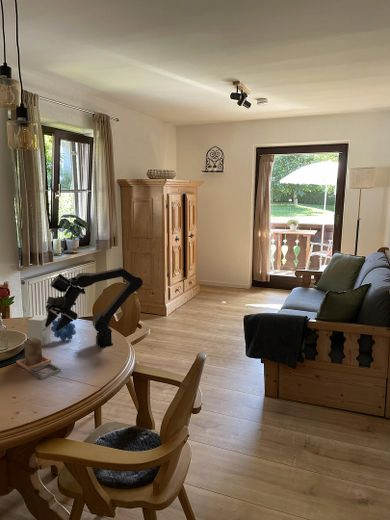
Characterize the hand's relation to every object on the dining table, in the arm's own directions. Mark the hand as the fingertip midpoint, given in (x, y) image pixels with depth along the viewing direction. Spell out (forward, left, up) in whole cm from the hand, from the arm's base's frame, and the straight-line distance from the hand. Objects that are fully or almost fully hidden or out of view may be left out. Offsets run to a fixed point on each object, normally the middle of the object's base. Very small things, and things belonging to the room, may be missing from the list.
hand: (50, 328), depth 170 cm
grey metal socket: (+6, +13, -13) cm, 20 cm away
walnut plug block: (+8, +1, -14) cm, 16 cm away
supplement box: (0, -21, -14) cm, 25 cm away
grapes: (-10, -16, -14) cm, 23 cm away
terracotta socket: (+8, +1, -14) cm, 16 cm away
